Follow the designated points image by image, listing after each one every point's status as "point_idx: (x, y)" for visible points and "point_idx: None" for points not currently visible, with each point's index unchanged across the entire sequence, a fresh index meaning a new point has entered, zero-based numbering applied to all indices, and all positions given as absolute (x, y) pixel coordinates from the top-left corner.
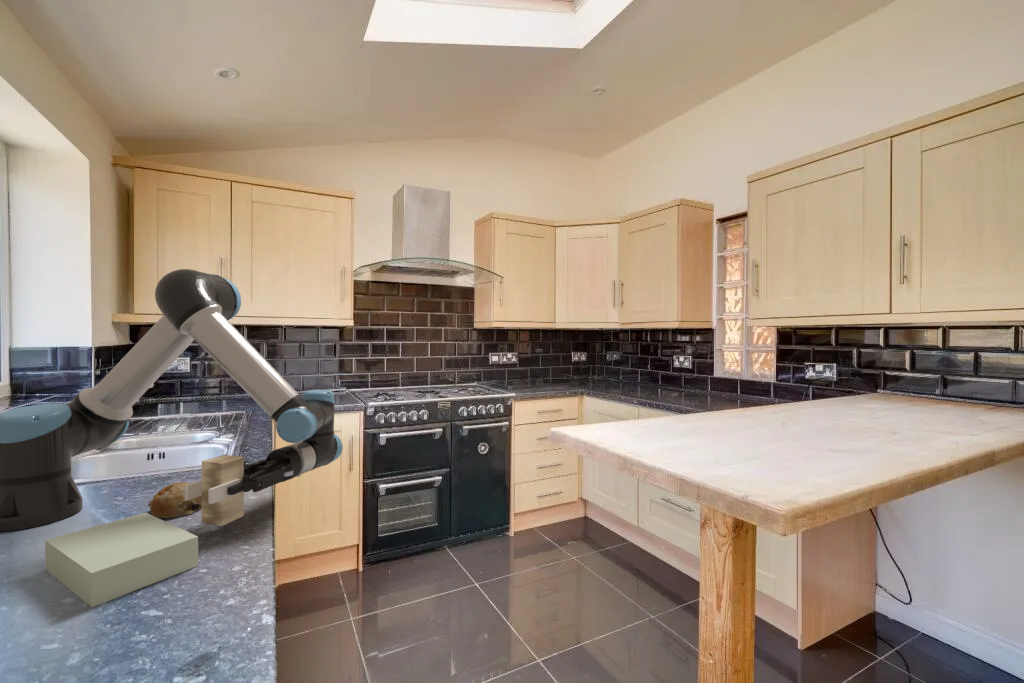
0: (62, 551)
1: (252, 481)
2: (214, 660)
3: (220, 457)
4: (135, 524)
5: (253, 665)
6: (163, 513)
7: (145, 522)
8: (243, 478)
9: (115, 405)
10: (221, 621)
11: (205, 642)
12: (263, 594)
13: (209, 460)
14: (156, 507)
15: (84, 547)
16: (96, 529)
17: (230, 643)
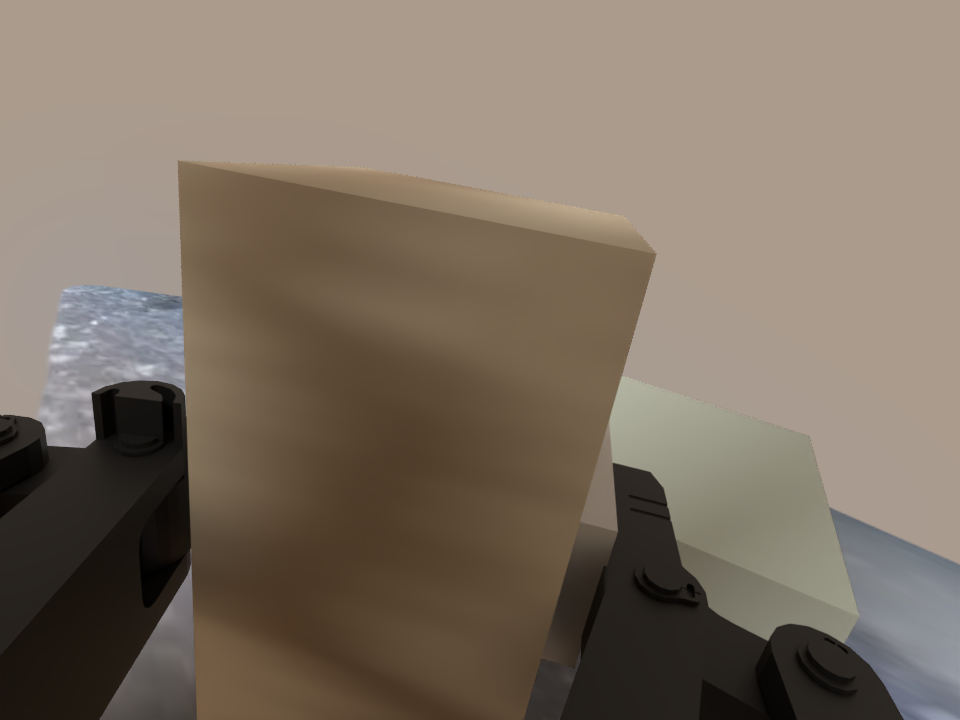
0: (660, 389)
1: (50, 469)
2: (149, 301)
3: (555, 217)
4: (688, 490)
5: (85, 289)
6: None
7: (671, 503)
8: (172, 410)
9: None
10: (156, 339)
11: (174, 319)
12: (57, 373)
13: (570, 209)
14: None
15: (630, 393)
16: (777, 473)
17: (128, 312)
